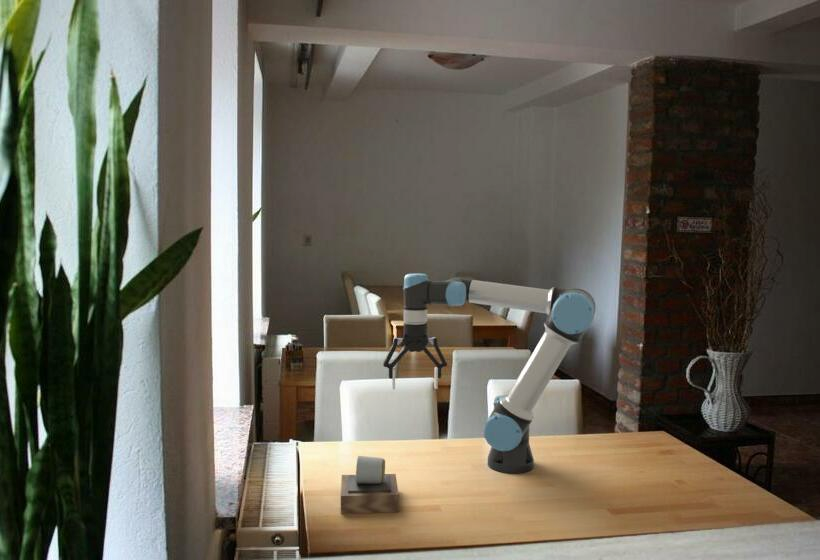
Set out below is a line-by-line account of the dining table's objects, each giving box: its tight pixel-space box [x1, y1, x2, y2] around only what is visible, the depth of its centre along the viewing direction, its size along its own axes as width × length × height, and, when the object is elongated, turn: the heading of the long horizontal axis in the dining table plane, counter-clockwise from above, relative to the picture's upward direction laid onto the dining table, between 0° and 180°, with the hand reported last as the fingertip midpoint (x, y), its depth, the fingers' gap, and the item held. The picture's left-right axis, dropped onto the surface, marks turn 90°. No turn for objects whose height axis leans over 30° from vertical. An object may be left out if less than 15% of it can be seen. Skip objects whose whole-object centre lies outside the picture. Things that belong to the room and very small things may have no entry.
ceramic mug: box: [355, 455, 386, 484], centre depth 210 cm, size 11×8×8 cm
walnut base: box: [340, 473, 400, 514], centre depth 209 cm, size 16×16×6 cm
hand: (414, 388), depth 233 cm, fingers open, 13 cm apart
